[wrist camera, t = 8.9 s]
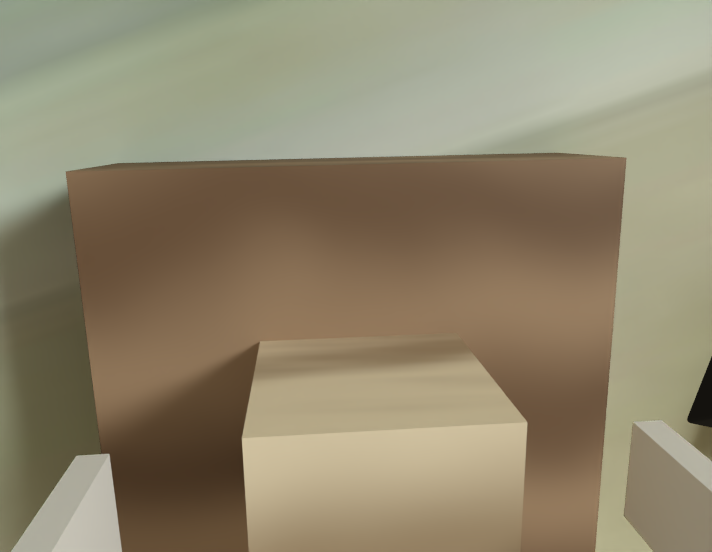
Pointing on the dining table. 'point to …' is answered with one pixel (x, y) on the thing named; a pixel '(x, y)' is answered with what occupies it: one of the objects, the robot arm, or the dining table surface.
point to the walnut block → (341, 311)
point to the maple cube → (381, 448)
